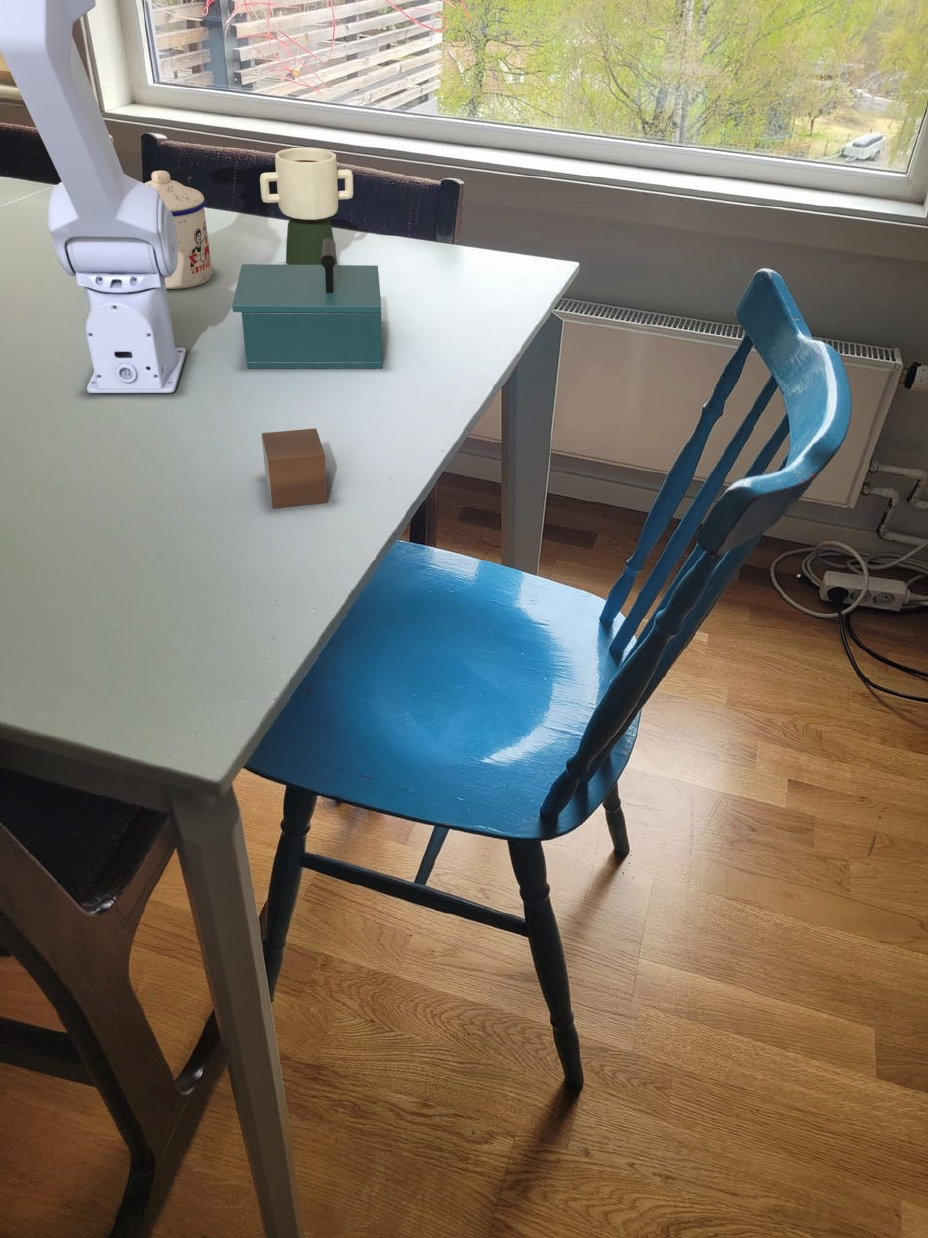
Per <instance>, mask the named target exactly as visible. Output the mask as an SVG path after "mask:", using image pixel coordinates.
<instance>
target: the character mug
mask: <svg viewBox="0 0 928 1238" xmlns="http://www.w3.org/2000/svg"><path fill="white" fill-rule="evenodd" d="M274 162H275V163H274V165H275V171H273V172H263V173H261V174H260V177H259V184H260V186H259V187H260V195H261V200H262V202H263V203H266V204H277V205H278V208H279V210H280V212H281V213H282V214H283V215H284V216H287V217H290V218H289V220H288V223H287V230H286V231H287V233H286V247H285V249H286V250H285V265H322V264H321V250H322V242H323V240H324V239H326V238H331V239H333V240H334V241H335V237H334V233H333V232H334V231H333V227H332V226H333V225H332V223H331V221H330V219H329V218H330V217H332V216H334V215H335V214H337V212H338V209H339V200H340V201H341V200H350V199H352V198H353V196H354V175H353V171H352V170H351V169H347V168H346V169H338V163H337V153H335V152H333V151H330V150H327V149H322V148H318V147H317V148H316V147H293V148H292V147H291V148H285V149H282V150H279V151H277V152H276V153H275V157H274ZM339 179H341V180H342V179H344V190H338V189H339V187H338V180H339ZM270 182H276V188H277V189H276V190H277V193H270V184H269V183H270ZM335 265H338V257H337V256H336V262H335Z"/></svg>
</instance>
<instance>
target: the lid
mask: <svg viewBox="0 0 928 1238" xmlns="http://www.w3.org/2000/svg"><path fill="white" fill-rule="evenodd" d="M336 248H337V244H336V241H335V239H334V240H333V239H331V238H326V239H324V240H323V242H322V250H321V264H322V265H288V264H280V263H279V264H277V263H276V264H274V263H273V264H272V263H271V264H269V263H267V264H264V263H262V264H261V263H242V264H241V267H240V271H239V274H238V279H237V283H236V287H235V292H234V295H233V301H232V304H231V305H232V306H231V307H232V308H231V309H232V313H242V312H302V313H381V314H382V299H381V285H380V274H379V266H378V265H369V264H368V265H362V264H361V265H360V264H358V265H357V264H355V265H353V264H336V265H335V262H336V257H337V249H336Z"/></svg>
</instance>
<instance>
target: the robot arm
mask: <svg viewBox="0 0 928 1238" xmlns="http://www.w3.org/2000/svg"><path fill="white" fill-rule="evenodd" d="M96 5H97V4H96V0H0V53H1V56H2V58H3V59H4V62H5V64H6V66H7V68H8V71H9V72H10V75H11V77H12V79H13V81H14V83H15V85H16V88H17V89H18V91H19V93H20V96H21V98H22V100H23V102H24V104H25V107H26V109H27V111H28V113H29V115H30V117H31V119H32V121H33V123H34V125H35V128H36V129H37V132H38V134H39V137H40V139H41V140H42V143H43V144H44V147H45V149H46V151H47V153H48V156H49V157H50V159H51V161H52V164H53V166H54V169H55V170H56V171H57V174H58V176H59V179H60V180H61V181H60V182H58V184H56V185H54V187H52V190H51V192H50V196H49V201H48V209H47V226H48V231H49V234H50V235H51V238H52V241H53V246H54V251H55V255H56V258H57V260H58V264H59V265H60V266H61V268H62V269H63V270H64V271H65V272H66V273H67V274H68V275H69V276H70V277H75V278H76V283H77V287H79V288H84V292H85V298H86V301H87V307H88V311H89V312H88V316H87V319H86V322H85V335H86V342H87V345H88V350H89V355H90V359H91V365H92V370H93V373H92V376H91V377H90V379H89V382H88V384H87V385H86V391H87V392H88V393H89V394H172V393H174V392H175V391H176V388H177V384H178V383H179V378H180V375H181V372H182V368H183V364H184V362H185V359H186V354H187V348H185V347H176V343H175V336H174V330H173V325H172V316H171V311H170V304H169V297H168V291H167V290H168V289H166V284H165V278H166V277H171V276H172V274H173V273H174V271H175V270H176V268H177V262H178V245H177V234H176V227H175V222H174V218H173V215H172V212H171V211H170V210H169V209H168V208H167V207H166V205H165V204H164V201H163V199H162V198H161V197H160V195H159V191H158V190H156V189H155V188H153V187H151V186H149V185H147V184H145V182H142V181H139V180H138V179H136V178H133V177H131V176H129V175H127V174H125V172H124V171H123V168H122V165H121V163H120V159H119V157H118V155H117V152H116V149H115V147H114V144H113V141H112V139H111V136H110V133H109V130H108V127H107V125H106V122H105V120H104V117H103V114H102V112H101V109H100V106H99V103H98V100H97V98H96V96H95V93H94V90H93V88H92V84H91V81H90V80H89V76H88V74H87V71H86V68H85V66H84V63H83V61H82V57H81V56H80V52H79V50H78V48H77V44H76V42H75V39H74V37H73V27H74V23H75V22H77V21H78V20H79V19H81V18H82V17H83V16H85V15H86V14H87V13H89V12H90V11H92V9H94V8H95V7H96Z"/></svg>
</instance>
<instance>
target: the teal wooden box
mask: <svg viewBox="0 0 928 1238" xmlns="http://www.w3.org/2000/svg"><path fill="white" fill-rule="evenodd" d="M241 321H242V330H243V331H242V333H243V339H244V340H243V341H244V350H245V351H244V352H245V361H246V368H247V369H382V368H383V351H382V349H383V346H382V345H383V341H382V339H383V338H382V331H383V330H382V312H381V313H302V312H241Z"/></svg>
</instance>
